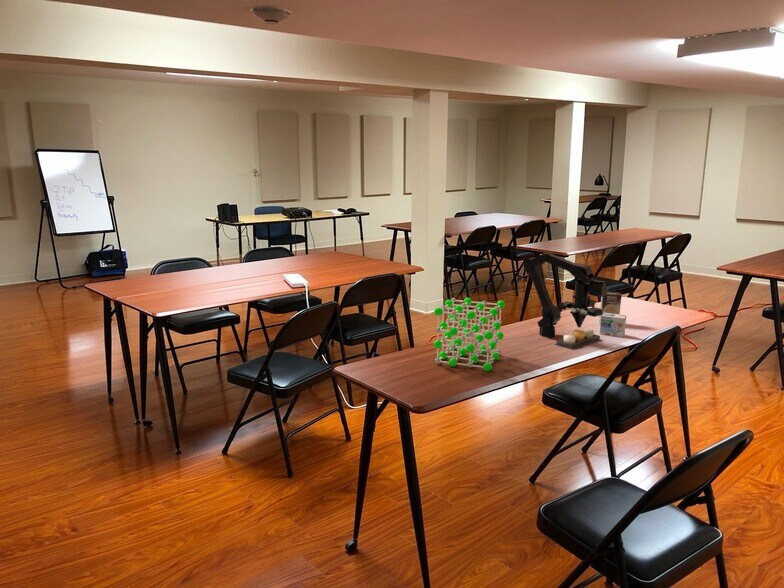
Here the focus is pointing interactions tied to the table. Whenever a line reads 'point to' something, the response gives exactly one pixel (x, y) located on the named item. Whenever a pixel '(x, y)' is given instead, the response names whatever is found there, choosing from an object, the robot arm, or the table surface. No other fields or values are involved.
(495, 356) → the molecular structure model
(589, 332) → the sage button
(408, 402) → the table surface
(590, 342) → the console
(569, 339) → the ivory button
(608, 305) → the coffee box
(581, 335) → the amber button
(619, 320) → the light bulb box
